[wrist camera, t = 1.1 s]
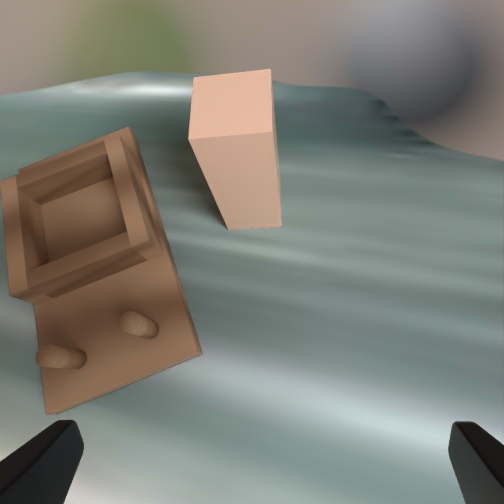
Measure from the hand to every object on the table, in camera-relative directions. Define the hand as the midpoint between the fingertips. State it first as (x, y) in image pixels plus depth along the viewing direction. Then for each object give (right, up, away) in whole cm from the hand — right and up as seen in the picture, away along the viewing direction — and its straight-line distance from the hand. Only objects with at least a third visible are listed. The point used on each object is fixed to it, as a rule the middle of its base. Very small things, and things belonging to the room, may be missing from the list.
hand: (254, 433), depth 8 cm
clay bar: (0, +8, +18) cm, 19 cm away
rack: (-11, +4, +18) cm, 22 cm away
